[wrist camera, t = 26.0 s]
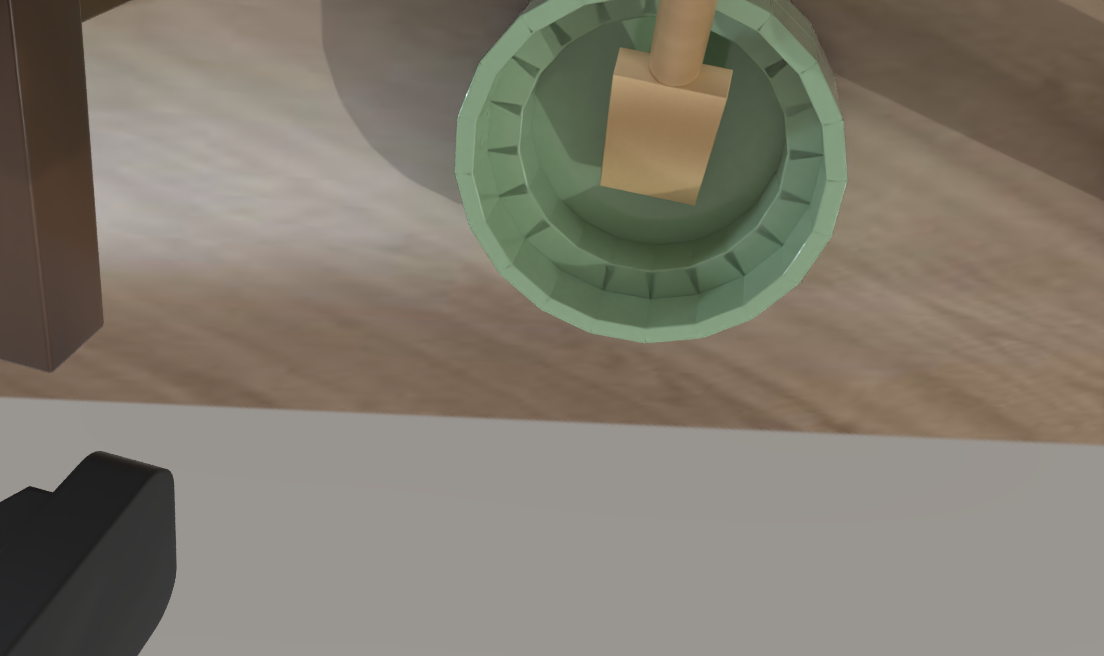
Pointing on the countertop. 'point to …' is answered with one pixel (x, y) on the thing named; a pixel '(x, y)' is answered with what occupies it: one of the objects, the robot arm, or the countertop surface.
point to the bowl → (639, 220)
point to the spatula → (666, 107)
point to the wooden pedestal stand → (46, 184)
